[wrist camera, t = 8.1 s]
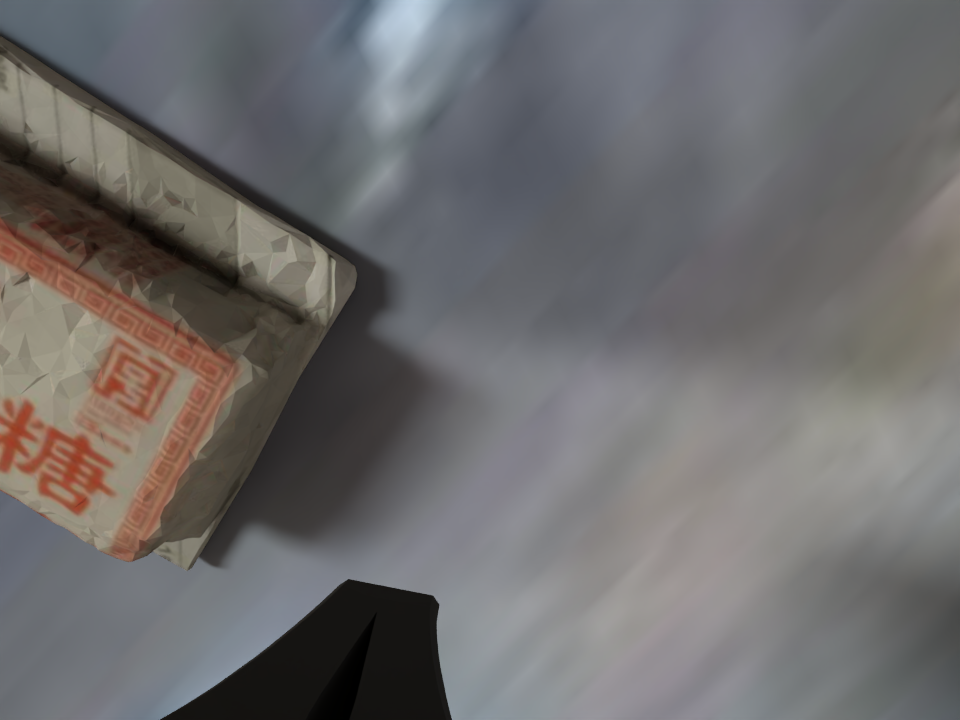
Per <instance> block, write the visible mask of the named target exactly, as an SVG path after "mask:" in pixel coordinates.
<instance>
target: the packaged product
mask: <svg viewBox="0 0 960 720" xmlns="http://www.w3.org/2000/svg"><path fill="white" fill-rule="evenodd" d="M356 279H357V272H356V268H355V266H354V265H353V264H351V263H350V262H349V261H348V260H346V259H345V258H343V257H341V256H340V255H338V254H337V253H335V252H333V251H332V250H330V249H328V248H327V247H325V246H324V245H322V244H320V243H319V242H317V241H315V240H314V239H312V238H311V237H309V236H307V235H306V234H304V233H302V232H301V231H299V230H298V229H296V228H294V227H293V226H291V225H289V224H288V223H286V222H284V221H283V220H281V219H279V218H278V217H276V216H275V215H273V214H271V213H269V212H268V211H266V210H264V209H262V208H260V207H258V206H257V205H255V204H254V203H252V202H251V201H249V200H248V199H246V198H245V197H244V196H242V195H241V194H239V193H238V192H236V191H235V190H233V189H232V188H230V187H229V186H228V185H226V184H225V183H223V182H222V181H220V180H219V179H217V178H216V177H215V176H213V175H212V174H210V173H209V172H207V171H206V170H204V169H203V168H201V167H200V166H199V165H197V164H196V163H194V162H193V161H191V160H190V159H188V158H187V157H186V156H184V155H183V154H181V153H180V152H178V151H177V150H175V149H174V148H172V147H171V146H170V145H168V144H167V143H165V142H164V141H162V140H161V139H159V138H158V137H157V136H155V135H154V134H152V133H151V132H149V131H148V130H146V129H145V128H143V127H142V126H140V125H138V124H136V123H134V122H132V121H131V120H129V119H128V118H126V117H125V116H123V115H121V114H120V113H118V112H117V111H115V110H114V109H112V108H111V107H109V106H108V105H106V104H104V103H103V102H101V101H100V100H98V99H97V98H95V97H94V96H92V95H91V94H89V93H87V92H86V91H84V90H83V89H81V88H80V87H78V86H77V85H75V84H74V83H72V82H70V81H69V80H67V79H66V78H64V77H63V76H61V75H60V74H58V73H56V72H55V71H53V70H52V69H50V68H49V67H47V66H46V65H44V64H43V63H41V62H40V61H38V60H37V59H35V58H34V57H32V56H31V55H30V54H28V53H27V52H25V51H23V50H22V49H20V48H19V47H17V46H15V45H14V44H12V43H11V42H9V41H7V40H6V39H4V38H3V37H1V36H0V490H1V491H3V492H4V493H6V494H8V495H10V496H12V497H13V498H15V499H17V500H19V501H20V502H22V503H24V504H25V505H27V506H28V507H30V508H31V509H33V510H34V511H36V512H37V513H38V514H40V515H42V516H43V517H45V518H47V519H48V520H50V521H52V522H53V523H55V524H57V525H60V526H62V527H64V528H66V529H67V530H69V531H70V532H71V533H73V534H74V535H76V536H77V537H79V538H80V539H82V540H83V541H85V542H87V543H89V544H91V545H93V546H95V547H96V548H97V549H98V550H100V551H101V552H103V553H105V554H108V555H110V556H113V557H115V558H118V559H121V560H124V561H127V562H132V561H135V560H137V559H140V558H142V557H145V556H147V555H148V554H150V553H151V552H152V551H153V552H155V553H156V554H158V555H160V556H161V557H163V558H165V559H167V560H168V561H170V562H172V563H174V564H176V565H177V566H179V567H181V568H183V569H185V570H186V571H188V570H189V569H191V568H192V567H193V565H194V563H195V562H196V560H197V559H198V557H199V555H200V554H201V552H202V550H203V549H204V547H205V545H206V544H207V542H208V541H209V539H210V537H211V536H212V534H213V532H214V531H215V529H216V527H217V526H218V524H219V523H220V521H221V519H222V518H223V516H224V514H225V513H226V511H227V510H228V508H229V506H230V505H231V503H232V501H233V500H234V498H235V496H236V495H237V493H238V492H239V490H240V488H241V487H242V485H243V483H244V482H245V480H246V479H247V477H248V475H249V474H250V472H251V470H252V468H253V466H254V464H255V462H256V460H257V459H258V457H259V455H260V453H261V451H262V449H263V447H264V445H265V443H266V441H267V439H268V437H269V435H270V433H271V431H272V429H273V427H274V425H275V424H276V422H277V420H278V418H279V416H280V414H281V412H282V410H283V408H284V406H285V404H286V402H287V400H288V398H289V396H290V394H291V392H292V390H293V388H294V387H295V385H296V383H297V381H298V379H299V377H300V376H301V374H302V372H303V371H304V369H305V368H306V366H307V364H308V363H309V361H310V360H311V358H312V356H313V355H314V353H315V351H316V350H317V348H318V347H319V345H320V343H321V342H322V340H323V339H324V337H325V335H326V334H327V332H328V331H329V329H330V327H331V326H332V324H333V322H334V321H335V319H336V318H337V316H338V314H339V313H340V311H341V310H342V308H343V306H344V305H345V303H346V302H347V300H348V298H349V297H350V295H351V293H352V292H353V290H354V289H355V285H356Z"/></svg>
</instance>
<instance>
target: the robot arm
mask: <svg viewBox="0 0 960 720" xmlns="http://www.w3.org/2000/svg"><path fill="white" fill-rule="evenodd" d="M438 610H439V603H438V602H437V601H436V599H435V598H434V596H432V595H427V594H422V593H416V592H411V591H406V590H401V589H396V588H391V587H386V586H381V585H375V584H370V583H365V582H360V581H355V580H350V579H348V580H347V581H345V582H343V583H342V584H340V585H339V586H338V587H337V588H336V589H335V590H334V591H333V592H332V593H331V594H330V595H328V596H327V597H326V598H325V599H324V600H323V601H322V602H321V603H320V604H319V605H318V606H316V607H315V608H314V609H313V610H312V611H311V612H310V613H309V614H307V615H306V616H305V617H304V618H303V619H302V620H301V621H299V622H298V623H297V624H296V625H295V626H294V627H292V628H291V629H290V630H289V631H287V632H286V633H285V634H284V635H282V636H281V637H280V638H279V639H277V640H276V641H275V642H274V643H273V644H271V645H270V646H269V647H268V648H266V649H265V650H264V651H263V652H261V653H260V654H259V655H257V656H256V657H255V658H253V659H252V660H251V661H249V662H248V663H246V664H245V665H244V666H242V667H241V668H239V669H238V670H237V671H235V672H234V673H232V674H231V675H230V676H228V677H227V678H225V679H224V680H223V681H221V682H220V683H218V684H217V685H216V686H214V687H213V688H211V689H210V690H208V691H206V692H205V693H203V694H202V695H200V696H199V697H197V698H196V699H194V700H192V701H191V702H189V703H188V704H186V705H184V706H183V707H181V708H179V709H178V710H176V711H174V712H172V713H171V714H169V715H167V716H166V717H164V718H162V719H160V720H452V718H451V715H450V711H449V707H448V703H447V698H446V693H445V688H444V683H443V678H442V673H441V668H440V662H439V654H438V644H437V616H438Z"/></svg>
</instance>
